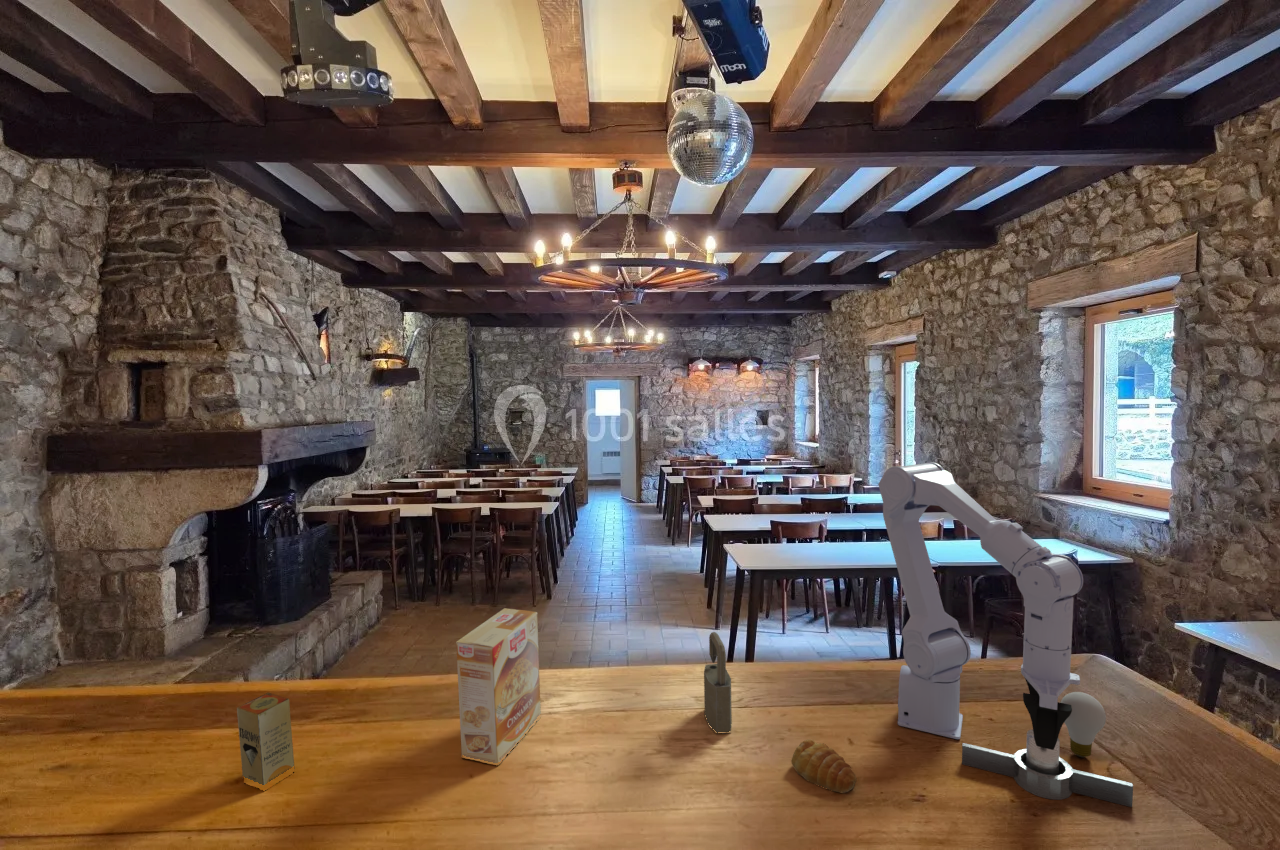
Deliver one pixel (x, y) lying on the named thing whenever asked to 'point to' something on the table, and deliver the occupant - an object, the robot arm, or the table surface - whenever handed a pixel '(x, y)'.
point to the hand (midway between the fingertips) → (1043, 732)
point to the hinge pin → (1042, 757)
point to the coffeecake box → (498, 683)
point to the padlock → (717, 687)
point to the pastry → (823, 766)
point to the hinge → (1048, 776)
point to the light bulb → (1083, 721)
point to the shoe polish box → (265, 738)
